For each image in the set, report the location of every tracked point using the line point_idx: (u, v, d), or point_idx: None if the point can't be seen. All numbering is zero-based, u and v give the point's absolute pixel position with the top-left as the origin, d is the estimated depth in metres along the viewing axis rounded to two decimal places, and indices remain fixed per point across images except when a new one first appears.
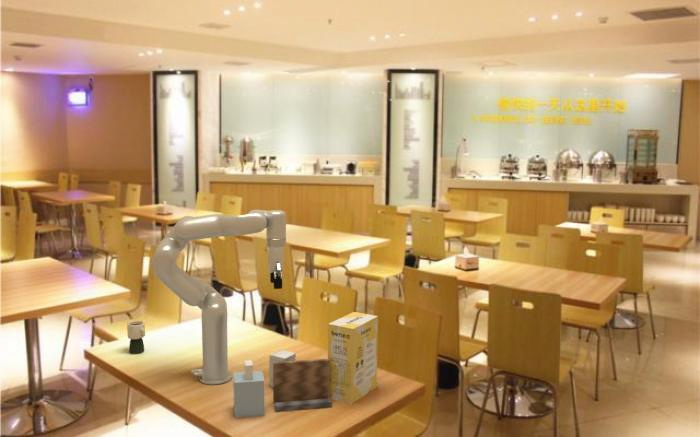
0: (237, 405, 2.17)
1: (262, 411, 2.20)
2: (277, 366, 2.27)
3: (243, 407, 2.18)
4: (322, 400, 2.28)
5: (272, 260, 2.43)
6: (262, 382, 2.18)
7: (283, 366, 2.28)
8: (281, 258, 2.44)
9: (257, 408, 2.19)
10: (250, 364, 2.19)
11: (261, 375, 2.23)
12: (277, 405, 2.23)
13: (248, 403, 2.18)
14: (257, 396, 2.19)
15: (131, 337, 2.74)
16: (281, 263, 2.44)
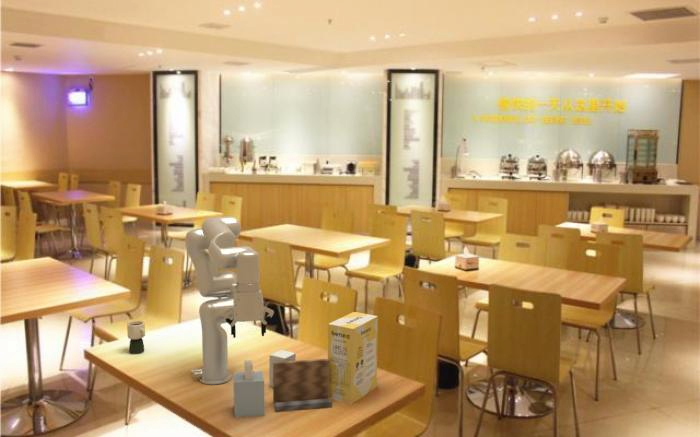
0: (237, 405, 2.17)
1: (262, 411, 2.20)
2: (277, 366, 2.27)
3: (243, 407, 2.18)
4: (322, 400, 2.28)
5: None
6: (262, 382, 2.18)
7: (283, 366, 2.28)
8: None
9: (257, 408, 2.19)
10: (250, 364, 2.19)
11: (261, 375, 2.23)
12: (277, 405, 2.23)
13: (248, 403, 2.18)
14: (257, 396, 2.19)
15: (131, 337, 2.74)
16: None
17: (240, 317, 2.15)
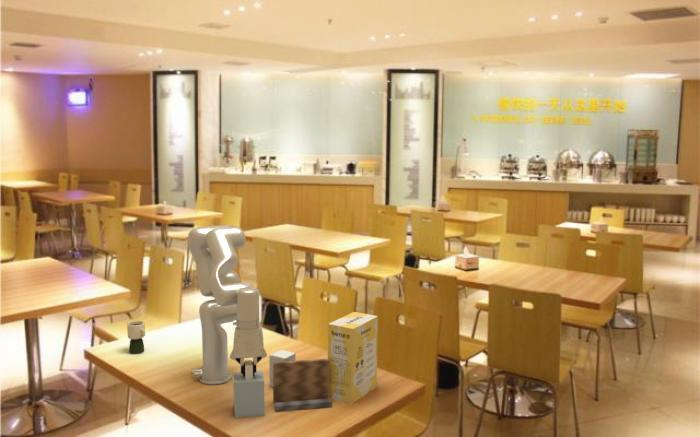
0: (237, 405, 2.17)
1: (262, 411, 2.20)
2: (277, 366, 2.27)
3: (244, 407, 2.18)
4: (322, 400, 2.28)
5: None
6: (262, 382, 2.18)
7: (283, 366, 2.28)
8: None
9: (257, 408, 2.19)
10: (250, 364, 2.19)
11: (261, 375, 2.23)
12: (277, 405, 2.23)
13: (248, 402, 2.18)
14: (258, 396, 2.18)
15: (131, 337, 2.74)
16: None
17: (240, 354, 2.17)
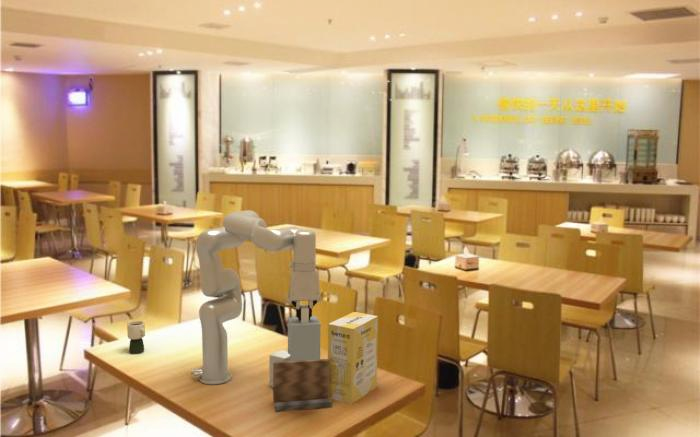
0: (294, 348, 2.16)
1: (318, 355, 2.18)
2: (277, 366, 2.27)
3: (300, 351, 2.16)
4: (322, 400, 2.28)
5: None
6: (318, 325, 2.16)
7: (283, 366, 2.28)
8: None
9: (313, 352, 2.17)
10: (306, 308, 2.17)
11: (316, 319, 2.21)
12: (277, 405, 2.23)
13: (304, 346, 2.16)
14: (314, 340, 2.17)
15: (131, 337, 2.74)
16: None
17: (297, 296, 2.15)
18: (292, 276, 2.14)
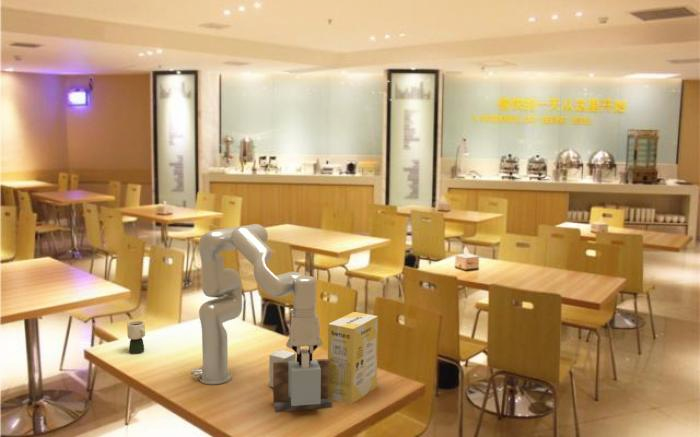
0: (294, 393, 2.18)
1: (318, 399, 2.20)
2: (277, 366, 2.27)
3: (300, 396, 2.19)
4: (322, 400, 2.28)
5: (319, 330, 2.19)
6: (319, 370, 2.19)
7: (283, 366, 2.28)
8: None
9: (314, 397, 2.20)
10: (307, 353, 2.19)
11: (316, 364, 2.23)
12: (277, 405, 2.23)
13: (305, 391, 2.19)
14: (314, 385, 2.19)
15: (131, 337, 2.74)
16: None
17: (297, 342, 2.17)
18: (293, 322, 2.17)
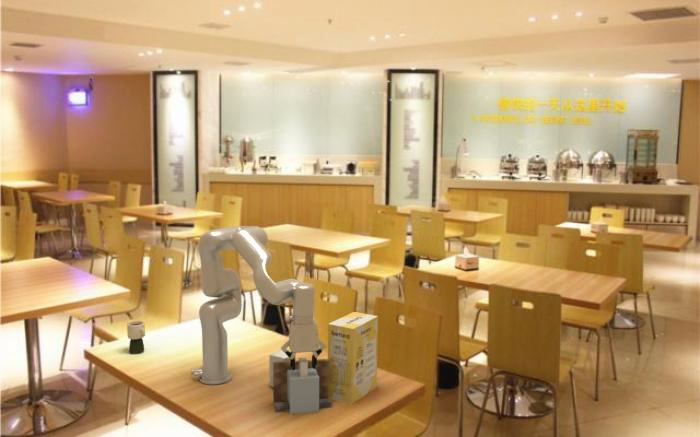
0: (293, 402, 2.21)
1: (317, 407, 2.23)
2: (277, 366, 2.27)
3: (299, 404, 2.21)
4: (322, 400, 2.28)
5: (318, 336, 2.22)
6: (317, 379, 2.22)
7: (283, 366, 2.28)
8: None
9: (312, 405, 2.23)
10: (305, 362, 2.22)
11: (314, 372, 2.26)
12: (277, 405, 2.23)
13: (303, 399, 2.22)
14: (312, 393, 2.22)
15: (131, 337, 2.74)
16: None
17: (296, 348, 2.20)
18: (292, 329, 2.19)
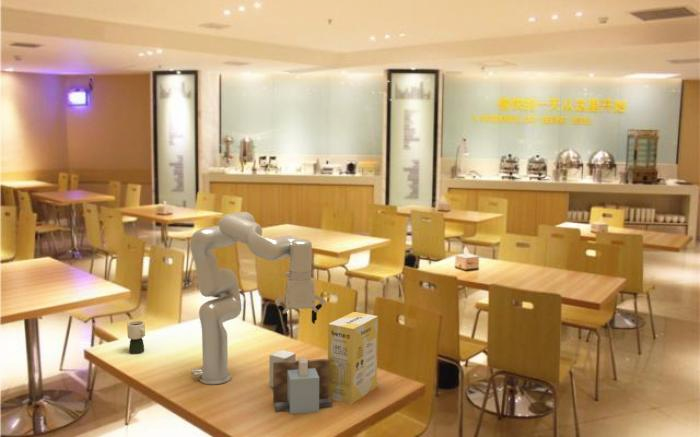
0: (293, 402, 2.21)
1: (317, 407, 2.23)
2: (277, 366, 2.27)
3: (299, 404, 2.21)
4: (322, 400, 2.28)
5: (314, 293, 2.21)
6: (317, 379, 2.22)
7: (283, 366, 2.28)
8: None
9: (312, 405, 2.23)
10: (305, 362, 2.22)
11: (314, 372, 2.26)
12: (277, 405, 2.23)
13: (303, 399, 2.22)
14: (312, 393, 2.22)
15: (131, 337, 2.74)
16: None
17: (292, 304, 2.19)
18: (288, 284, 2.18)
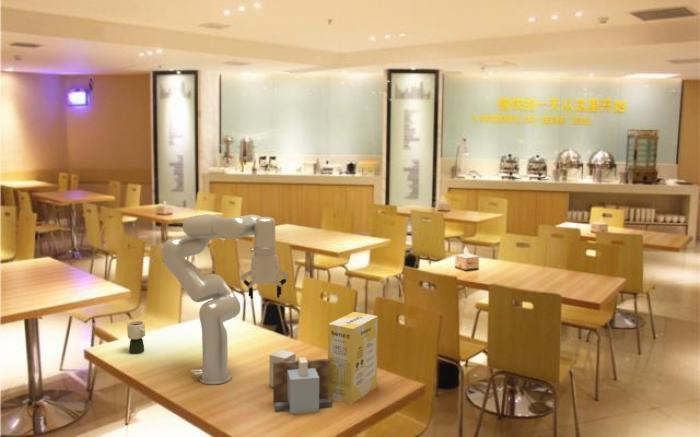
0: (293, 402, 2.21)
1: (317, 407, 2.23)
2: (277, 366, 2.27)
3: (299, 404, 2.21)
4: (322, 400, 2.28)
5: (278, 268, 2.31)
6: (317, 379, 2.22)
7: (283, 366, 2.28)
8: None
9: (312, 405, 2.23)
10: (305, 362, 2.22)
11: (314, 372, 2.26)
12: (277, 405, 2.23)
13: (303, 399, 2.22)
14: (312, 393, 2.22)
15: (131, 337, 2.74)
16: None
17: (257, 279, 2.30)
18: (253, 260, 2.29)
